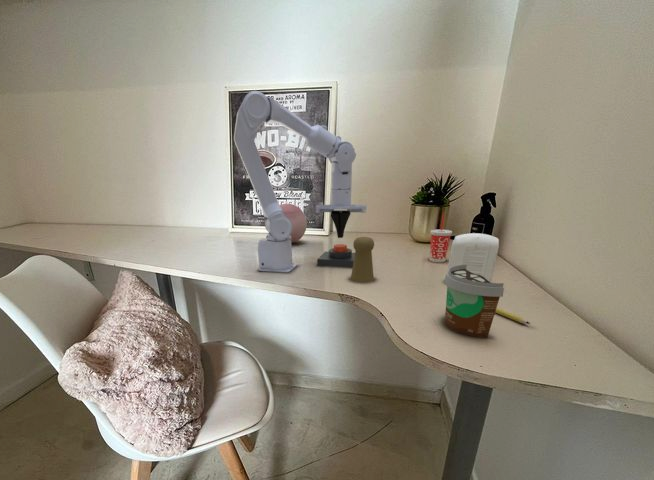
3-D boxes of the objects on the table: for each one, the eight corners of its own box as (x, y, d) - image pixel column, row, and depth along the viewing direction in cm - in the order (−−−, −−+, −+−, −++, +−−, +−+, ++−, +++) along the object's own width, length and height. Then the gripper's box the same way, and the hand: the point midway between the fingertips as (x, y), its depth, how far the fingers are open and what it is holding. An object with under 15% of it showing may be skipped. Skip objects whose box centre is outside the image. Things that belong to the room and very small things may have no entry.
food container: (427, 313, 67) (433, 265, 63) (456, 312, 67) (465, 263, 63) (457, 342, 56) (467, 286, 52) (492, 340, 56) (505, 284, 52)
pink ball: (314, 243, 131) (314, 203, 125) (281, 249, 123) (279, 206, 117) (294, 238, 142) (292, 201, 136) (262, 242, 134) (259, 203, 128)
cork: (373, 283, 85) (375, 240, 80) (349, 282, 86) (350, 239, 82) (374, 276, 90) (376, 235, 86) (351, 275, 91) (353, 235, 87)
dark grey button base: (317, 266, 101) (317, 253, 99) (325, 258, 110) (325, 245, 108) (356, 268, 98) (357, 254, 96) (361, 259, 106) (362, 247, 105)
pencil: (528, 326, 60) (529, 321, 60) (466, 301, 72) (467, 297, 72) (532, 325, 61) (533, 320, 60) (469, 300, 72) (470, 296, 72)
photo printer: (489, 282, 83) (499, 232, 78) (492, 288, 80) (503, 236, 75) (445, 279, 86) (452, 231, 81) (446, 285, 82) (453, 234, 77)
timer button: (332, 252, 101) (332, 246, 100) (335, 249, 104) (335, 244, 104) (345, 253, 100) (345, 247, 99) (347, 250, 103) (347, 244, 103)
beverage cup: (426, 262, 102) (432, 214, 96) (427, 257, 107) (433, 212, 102) (447, 263, 100) (454, 215, 94) (448, 258, 105) (455, 212, 100)
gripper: (313, 190, 93) (314, 239, 99) (365, 189, 90) (363, 240, 95) (318, 188, 99) (319, 234, 105) (367, 188, 96) (365, 235, 101)
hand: (340, 237), depth 100 cm, fingers closed
